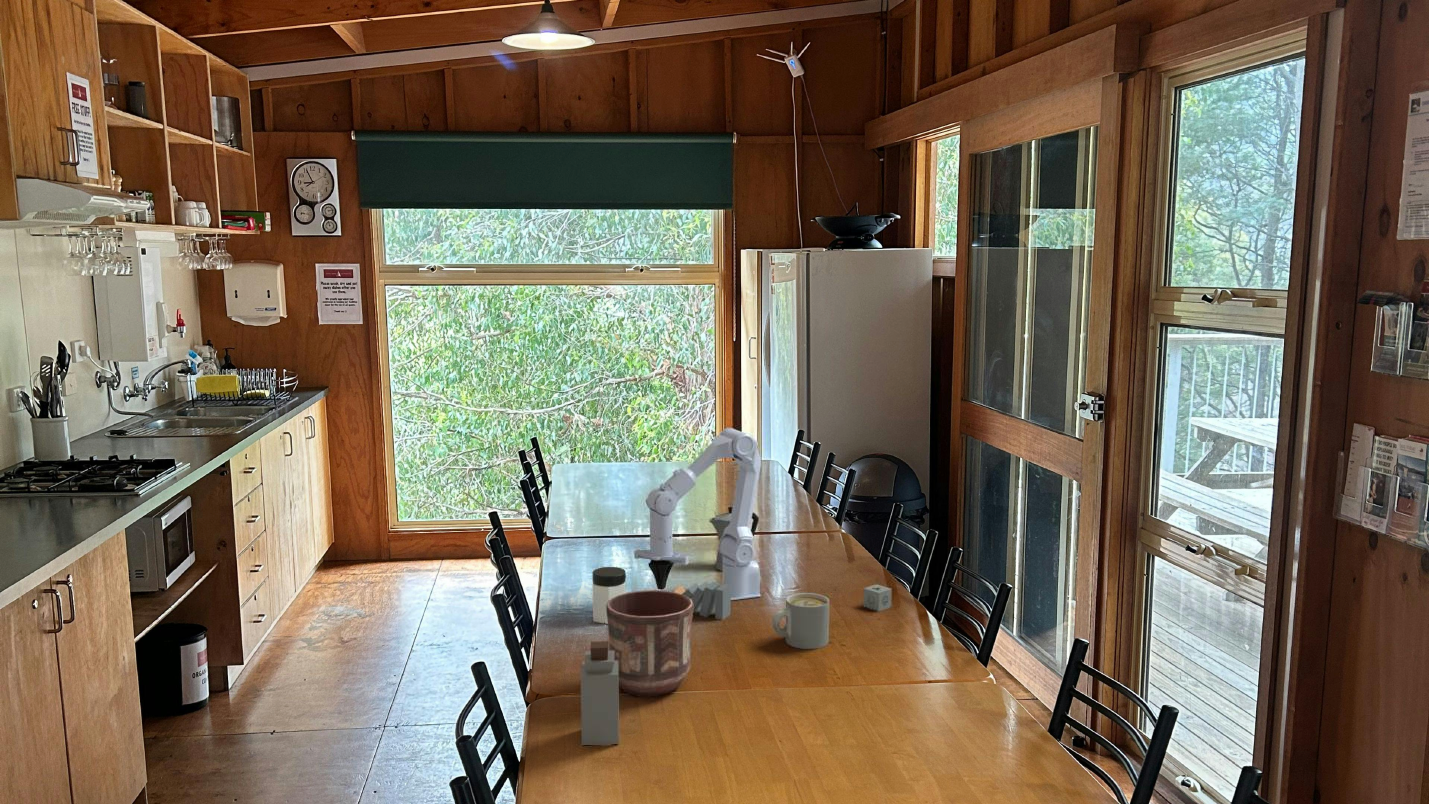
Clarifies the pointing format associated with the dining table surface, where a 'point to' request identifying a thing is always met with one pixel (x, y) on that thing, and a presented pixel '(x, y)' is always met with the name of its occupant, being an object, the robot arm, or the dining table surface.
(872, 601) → the white cube
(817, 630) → the coffee mug
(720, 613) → the domino
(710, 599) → the domino
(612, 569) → the jar
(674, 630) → the pottery
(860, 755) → the dining table surface
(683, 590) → the domino
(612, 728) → the perfume bottle
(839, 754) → the dining table surface
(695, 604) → the domino
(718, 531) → the coffeepot
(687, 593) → the domino
